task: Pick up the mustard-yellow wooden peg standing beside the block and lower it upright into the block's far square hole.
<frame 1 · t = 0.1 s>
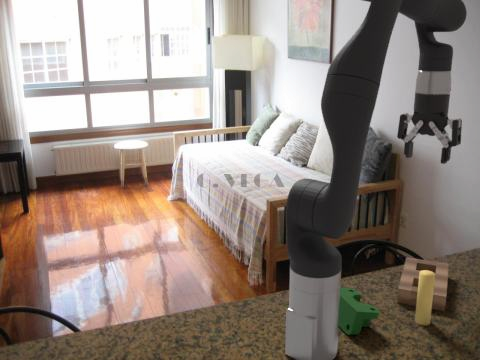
hand: (426, 160, 122), 29 cm above the counter, tool pointing down, fingers open, 8 cm apart
clamp: (351, 323, 108), on the counter
hole block: (423, 289, 122), on the counter
peg: (422, 321, 108), on the counter
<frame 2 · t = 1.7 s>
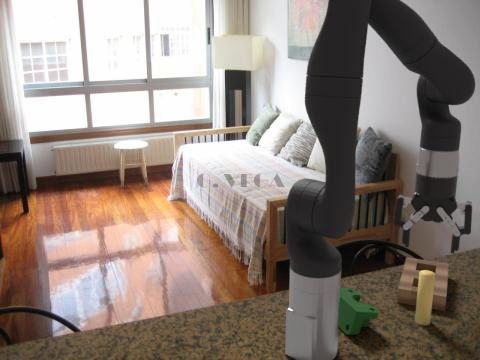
hand: (429, 248, 104), 16 cm above the counter, tool pointing down, fingers open, 8 cm apart
nothing on the counter moved.
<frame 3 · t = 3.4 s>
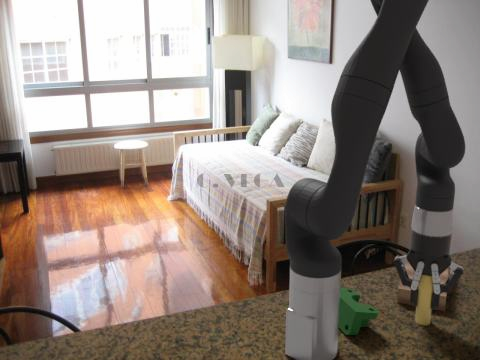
hand: (423, 305, 107), 4 cm above the counter, tool pointing down, fingers closed on peg, 3 cm apart
peg: (422, 321, 108), on the counter, touching gripper
everything else where it was.
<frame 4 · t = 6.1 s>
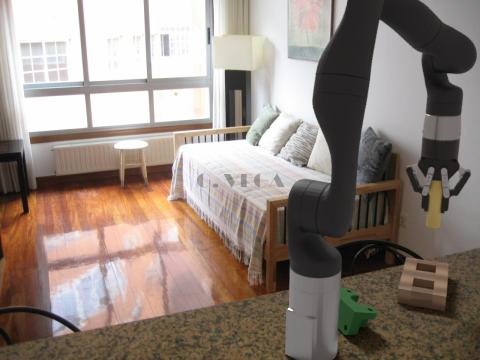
hand: (434, 211, 115), 20 cm above the counter, tool pointing down, fingers closed on peg, 3 cm apart
peg: (433, 226, 116), point 16 cm above the counter, touching gripper
everything else where it was.
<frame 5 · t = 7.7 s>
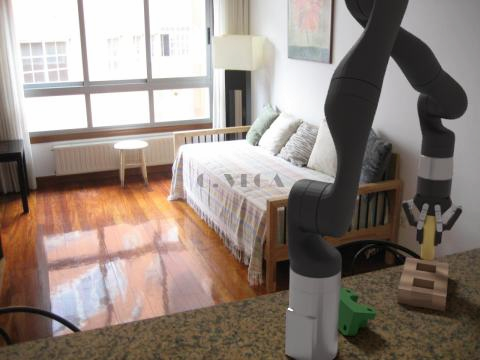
hand: (428, 243, 123), 10 cm above the counter, tool pointing down, fingers closed on peg, 3 cm apart
peg: (427, 257, 124), point 6 cm above the counter, touching gripper
everything else where it was.
when the fingers open (5 cm above the counter, at t = 9.0 s): peg drops 2 cm, resting in hole block.
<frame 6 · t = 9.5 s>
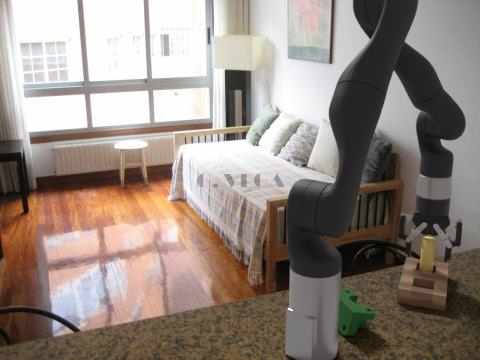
hand: (427, 258, 124), 6 cm above the counter, tool pointing down, fingers open, 8 cm apart
peg: (424, 281, 126), resting in hole block
everything else where it was.
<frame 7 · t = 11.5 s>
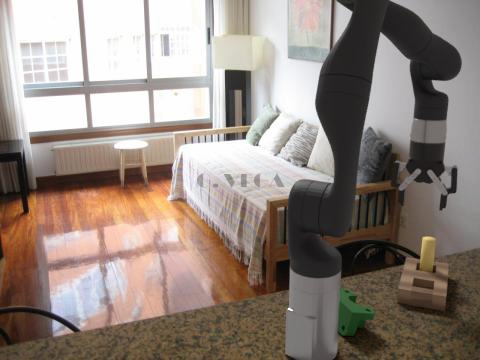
hand: (421, 207, 121), 19 cm above the counter, tool pointing down, fingers open, 8 cm apart
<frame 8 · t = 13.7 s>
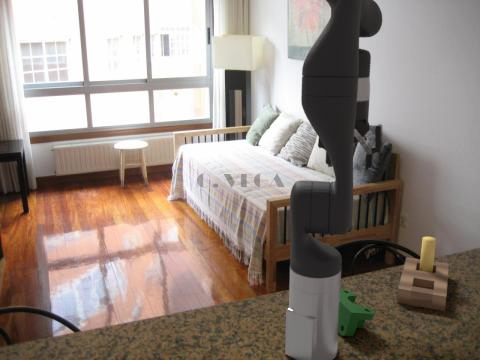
hand: (348, 167, 120), 28 cm above the counter, tool pointing down, fingers open, 8 cm apart
at the end: peg 0.1 cm from the target spot on the hole block, point 0.0 cm above the hole block's base; peg tilted 0°; the gripper is holding nothing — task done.
